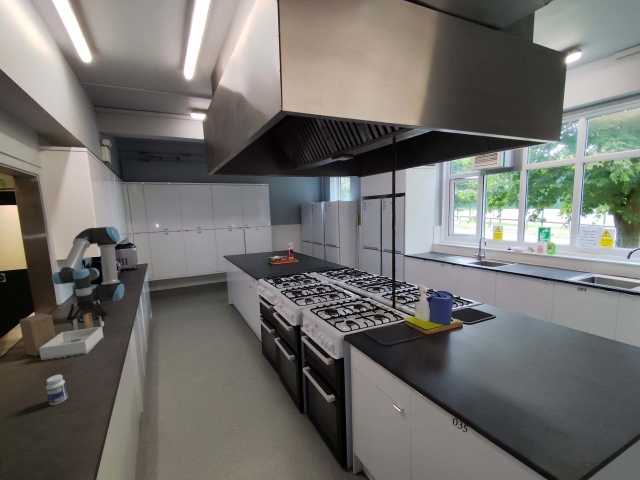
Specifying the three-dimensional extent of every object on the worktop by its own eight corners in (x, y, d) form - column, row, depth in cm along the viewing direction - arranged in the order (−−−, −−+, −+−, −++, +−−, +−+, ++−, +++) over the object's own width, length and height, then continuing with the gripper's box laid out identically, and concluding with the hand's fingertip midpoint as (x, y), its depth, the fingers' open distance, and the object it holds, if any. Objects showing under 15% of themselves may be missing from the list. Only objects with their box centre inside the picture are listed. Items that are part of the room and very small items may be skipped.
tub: (63, 343, 168) (61, 332, 167) (103, 337, 173) (101, 326, 172) (41, 361, 149) (39, 348, 148) (86, 353, 154) (85, 341, 153)
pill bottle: (56, 396, 119) (52, 374, 118) (71, 395, 119) (67, 372, 118) (44, 406, 113) (40, 382, 112) (60, 404, 114) (56, 381, 112)
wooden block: (58, 348, 162) (52, 314, 160) (36, 357, 153) (29, 321, 150) (47, 346, 166) (41, 312, 163) (24, 355, 156) (18, 319, 154)
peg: (88, 335, 178) (85, 313, 176) (96, 334, 179) (92, 312, 177) (85, 338, 174) (81, 315, 172) (93, 336, 175) (89, 314, 173)
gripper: (55, 299, 166) (61, 334, 169) (105, 293, 173) (110, 327, 176) (63, 295, 173) (68, 328, 176) (110, 290, 180) (115, 322, 183)
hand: (89, 328), depth 176 cm, fingers open, 13 cm apart
